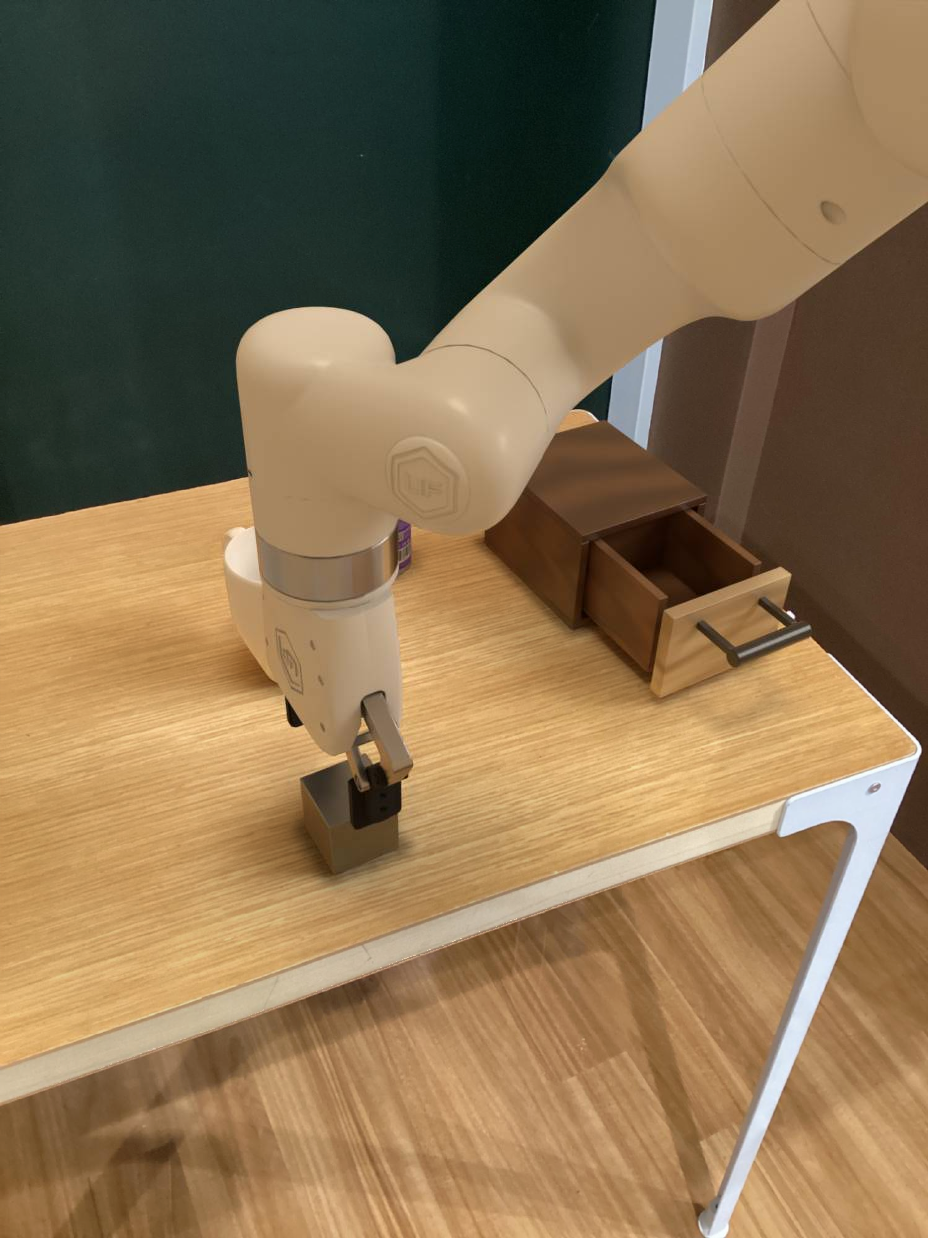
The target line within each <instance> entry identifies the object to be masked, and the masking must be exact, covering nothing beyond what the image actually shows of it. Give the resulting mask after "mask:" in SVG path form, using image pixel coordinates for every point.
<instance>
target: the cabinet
mask: <svg viewBox="0 0 928 1238" xmlns="http://www.w3.org/2000/svg"><path fill="white" fill-rule="evenodd" d="M707 500H708V494H707V493H705V492H704V491H703V490H702V489H700V488H699V487H697V486H696V485H694V484H693V483H692V482H690V481H689V480H688V479H686V478H685V477H683V476H682V475H681V474H680V473H679V472H677V471H675V469H673V468H671V466H669V465H667V464H666V463H665V462H663V461H662V460H660V459H659V458H658V457H656V456H655V455H654V454H652V453H651V452H650V451H648V450H647V449H646V448H644V447H642V446H641V445H640V444H639V443H637V442H636V441H635V440H633V439H632V438H631V437H629V436H627V435H626V434H625V433H623V432H622V431H621V430H619V429H618V428H617V427H615V426H614V425H613V424H612V423H610V422H609V421H607V420H606V419H602V420H599V421H596V422H592V423H588V424H584V425H581V426H577V427H573V428H570V429H566V430H563V431H559V432H556V434H555V435H554V437H553V439H552V440H551V442H550V444H549V445H548V447H547V449H546V451H545V452H544V454H543V456H542V459H541V460H540V462H539V464H538V466H537V467H536V469H535V471H534V473H533V474H532V476H531V478H530V480H529V481H528V483H527V485H526V487H525V488H524V490H523V492H522V493H521V495H520V497H519V498H518V500H517V502H516V503H515V505H514V506H513V507H512V509H511V510H510V511H509V512H508V514H507V515H506V516H505V517H504V518H503V519H502V520H501V521H500V522H498V523H497V524H495V525H494V526H492V527H491V528H489V529H487V530H485V531H484V539H483V542H484V544H485V545H486V546H487V547H488V548H489V549H490V550H491V551H492V552H493V553H494V554H495V555H496V556H497V557H498V558H499V559H500V560H501V561H502V562H503V563H504V564H505V565H506V566H507V567H508V568H509V569H510V570H511V571H512V572H513V573H514V574H515V575H516V576H517V577H518V578H519V579H520V580H521V581H522V582H524V584H526V586H527V587H529V589H530V590H531V591H532V592H534V594H535V595H537V596H538V598H539V599H540V600H542V602H543V603H545V605H547V606H548V608H550V610H551V611H552V612H554V613H555V614H556V615H557V616H558V617H559V618H560V619H561V620H562V621H563V623H564V624H565V625H566V626H568V628H570V629H571V630H572V631H574V630H576V629H580V628H582V627H585V626H587V625H590V624H593V623H595V622H594V621H593V620H592V619H591V618H590V617H589V616H588V615H587V614H586V613H585V612H584V611H583V610H582V603H583V594H584V584H585V575H586V566H587V557H588V548H589V541H592V540H595V539H598V538H601V537H604V536H607V535H610V534H613V533H616V532H619V531H622V530H625V529H628V528H631V527H634V526H637V525H640V524H643V523H646V522H649V521H653V520H656V519H659V518H662V517H665V516H668V515H671V514H674V513H677V512H680V511H683V510H686V509H689V508H691V509H692V510H693V511H695V512H696V513H697V514H699V515H700V516H701V517H703V518H704V515H705V510H706V506H707V505H706V504H707Z"/></svg>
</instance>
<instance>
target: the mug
mask: <svg viewBox="0 0 928 1238" xmlns="http://www.w3.org/2000/svg"><path fill="white" fill-rule="evenodd" d="M221 549H222V555H223V556H222V567H223V574H224V581H225V587H226V588H225V589H226V593H227V594H226V595H227V600H228V605H229V611H230V614H231V617H232V620H233V623H234V626H235V628H236V630H237V632H238V634H239V637H241V639H242V641H243V642H244V644H245V645H246V647H247V648H248V650H249V651H250V653H251V654H252V656H253V657H254V658H255V660H256V662H257V663H258V664H259V666H260V667H261V669H262V670H263V672H264V674H266V676H267V677H268V678H269V679H270V680H271V681H273V682H274V683H276V684H278V683H277V681H276V680H275V678H274V676H273V674H272V672H271V670H270V667H269V665H268V661H267V656H266V645H265V630H264V614H263V594H262V581H261V578H260V573H259V563H258V554H257V545H256V537H255V528H254V525H253V526H251V527H247V528H245V527H243V526H237V527H232V528H230V529H228V530H227V531H226V532H225V533H224V534H223V536H222V539H221Z"/></svg>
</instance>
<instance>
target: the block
mask: <svg viewBox="0 0 928 1238" xmlns="http://www.w3.org/2000/svg"><path fill="white" fill-rule="evenodd" d="M361 756H362V759H363V762H364V765H365V767H367V766H370V765H373V764H374V763H373V762H372V760H371V758H370V757H369V756H368V754H367V753H366V752H363V753H361ZM351 778H353V775H352V772H351V768H350V765H349V762H348V759H346V760H343V761H340V762H337V763H334V764H333V765H330V766H327V767H325V768H322V769H320V770H316V771H315V772H312V773H309V774H307V775H304V776H301V777H300V778H299V785H300V792H301V793H300V795H301V804H302V812H303V820H304V827H305V828H306V830H307V832H308V834H309V835H310V837H311V839H312V841H313V842H314V844H315V845H316V847H317V849H318V851H319V853H320V854H321V856H322V858H323V860H324V861H325V863H326V865H327V867H328V868H329V870H330V872H331V874H332V875H333V876H336V875H340V874H341V873H344V872H347V871H348V870H350V869H353V868H356V867H358V866H360V865H363V864H364V863H367V862H369V861H372V860H374V859H376V858H378V857H381V856H383V855H385V854H388V853H391V852H392V851H395V850H397V849H399V848H400V836H399V834H400V833H399V831H400V830H399V813H398V814H396V815H394V816H391V817H390V818H389V819H387V820H385V821H382V822H380V823H374V824H372V825H369V826H367V827H364V828H362V829H359V830H355V829H354V828H353V826H352V824H351V823H350V810H349V794H348V780H350V779H351Z"/></svg>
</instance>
